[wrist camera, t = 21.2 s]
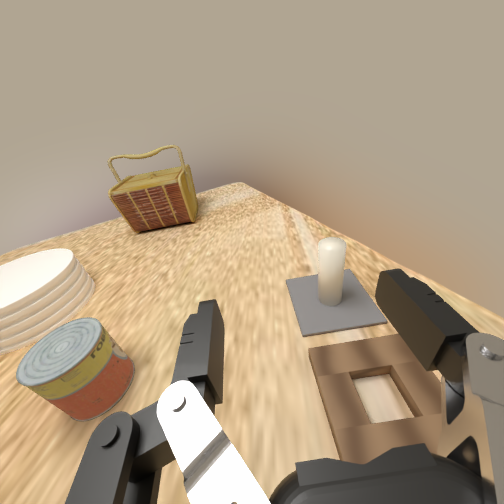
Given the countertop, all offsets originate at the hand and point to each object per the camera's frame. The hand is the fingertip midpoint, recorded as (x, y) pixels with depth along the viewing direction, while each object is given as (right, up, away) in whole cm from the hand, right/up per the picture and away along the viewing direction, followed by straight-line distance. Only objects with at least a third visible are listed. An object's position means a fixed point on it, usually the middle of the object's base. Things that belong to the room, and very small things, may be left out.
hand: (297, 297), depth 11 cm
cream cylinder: (+15, -8, +37) cm, 41 cm away
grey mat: (+15, -8, +38) cm, 41 cm away
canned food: (-30, -22, +30) cm, 48 cm away
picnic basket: (-40, +17, +91) cm, 101 cm away
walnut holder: (+16, -19, +21) cm, 33 cm away
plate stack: (-62, -14, +52) cm, 82 cm away
